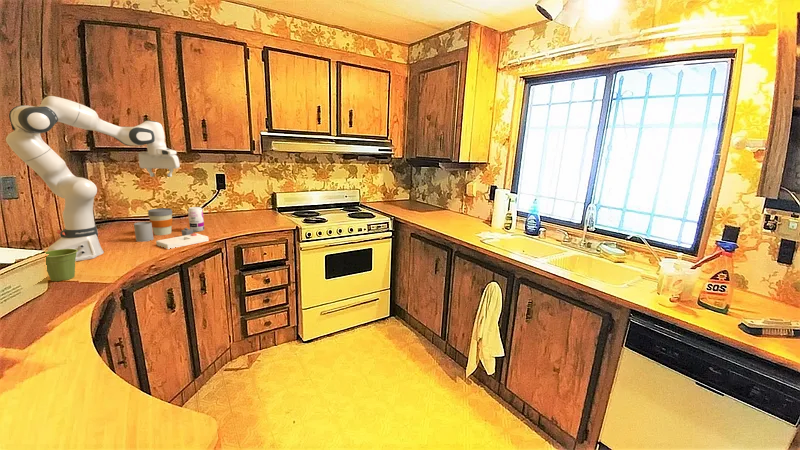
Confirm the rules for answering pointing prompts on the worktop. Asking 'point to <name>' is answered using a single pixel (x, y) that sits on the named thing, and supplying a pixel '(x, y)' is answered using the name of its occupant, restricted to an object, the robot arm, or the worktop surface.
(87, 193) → the robot arm
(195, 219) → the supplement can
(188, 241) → the socket plate
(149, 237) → the cup
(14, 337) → the worktop surface
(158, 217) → the reusable coffee cup
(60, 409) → the worktop surface
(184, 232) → the plug
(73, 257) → the plant pot
